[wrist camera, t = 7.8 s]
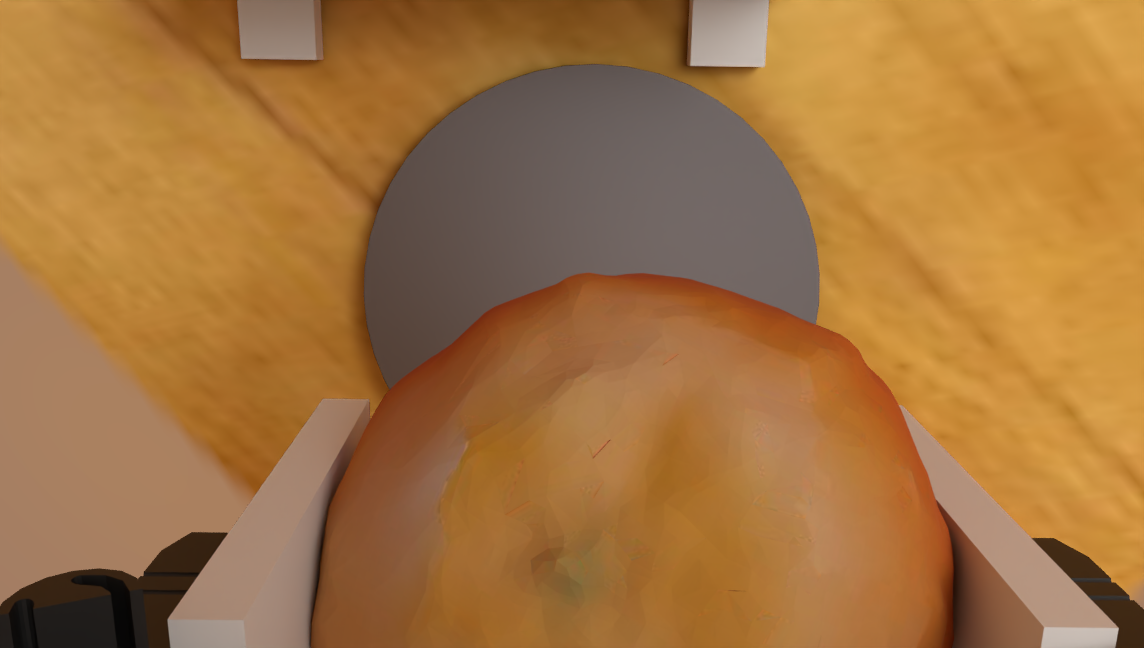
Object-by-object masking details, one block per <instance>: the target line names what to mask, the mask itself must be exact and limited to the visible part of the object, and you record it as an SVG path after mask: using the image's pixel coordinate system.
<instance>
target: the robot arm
mask: <svg viewBox="0 0 1144 648" xmlns="http://www.w3.org/2000/svg"><path fill="white" fill-rule="evenodd" d="M899 407H900V408H901V411H902V413H903V415H904V418H905V421H906V423H907V426H908V428H909V431H910V433H911V436H912V438H913V441H914V443H915V446H916V448H917V451H918V454H919V456H920V458H921V460H922V462H923V465H924V467H925V469H926V471H927V473H928V476H929V479H930V483H931V486H932V490H933V493H934V496H935V499H936V502H937V506H938V508H939V510H940V512H941V514H942V517H943V519H944V521H945V523H946V525H947V527H948V530H949V534H950V539H951V543H952V550H953V565H954V575H953V630H954V641H953V646H952V648H1144V609H1143V608H1142V607H1140V606H1139V605H1138V604H1137V603H1136V602H1135V601H1134V600H1130V599H1129V595H1128V594H1127V593H1126V592H1125V591H1124V590H1123V589H1122V588H1120V587H1119V586H1118V585H1117V584H1116V583H1111V578H1110V577H1109V576H1108V575H1107V574H1106V573H1105V572H1104V571H1103V570H1102V569H1101V568H1099V567H1098V566H1097V565H1096V564H1095V563H1094V562H1093V561H1092V560H1091V559H1090V558H1089V557H1088V556H1086V555H1084V554H1082V553H1080V552H1078V551H1076V550H1075V549H1073V548H1071V547H1069V546H1067V545H1065V544H1064V543H1062V542H1060V541H1058V540H1056V539H1054V538H1031V537H1030V536H1029V535H1028V534H1027V533H1026V532H1025V531H1024V530H1023V529H1022V528H1021V527H1020V526H1019V525H1018V524H1017V523H1016V522H1015V521H1014V520H1013V519H1012V518H1011V517H1010V516H1009V515H1008V514H1007V513H1006V512H1005V511H1004V510H1003V509H1002V508H1001V507H1000V505H999V504H998V503H997V502H996V501H995V500H994V499H993V498H992V497H991V496H990V495H989V494H988V493H987V492H986V491H985V490H984V489H983V488H982V487H981V486H980V485H979V484H978V483H977V482H976V481H975V480H974V479H973V478H972V477H971V476H970V475H969V474H968V473H967V472H966V471H965V470H964V468H963V467H962V466H961V465H960V464H959V463H958V462H957V461H956V460H955V459H954V458H953V457H952V456H951V455H950V454H949V453H948V452H947V451H946V450H945V449H944V448H943V447H942V446H941V445H940V444H939V443H938V442H937V441H936V440H935V439H934V438H933V437H932V436H931V435H930V434H929V433H928V432H927V430H926V429H925V428H924V427H923V426H922V425H921V424H920V423H919V422H918V421H917V420H916V419H915V418H914V417H913V416H912V415H911V414H910V413H909V412H908V411H907V410H906V409H905V408H904V407H903V406H902V405H899ZM369 421H370V407H369V399H322V401H321V402H320V404H319V405H318V406H317V408H316V409H315V411H314V412H313V414H312V415H311V416H310V418H309V419H308V421H307V422H306V423H305V425H304V426H303V428H302V429H301V431H300V432H299V433H298V435H297V436H296V438H295V439H294V441H293V442H292V443H291V445H290V446H289V448H288V449H287V450H286V452H285V453H284V455H283V456H282V458H281V459H280V460H279V462H278V463H277V465H276V466H275V468H274V469H273V470H272V472H271V473H270V475H269V476H268V477H267V479H266V480H265V482H264V483H263V485H262V486H261V487H260V489H259V490H258V492H257V493H256V494H255V496H254V497H253V499H252V500H251V502H250V503H249V504H248V506H247V507H246V509H245V510H244V512H243V513H242V514H241V516H240V517H239V519H238V520H237V521H236V523H235V524H234V526H233V527H232V529H231V530H230V531H229V533H206V532H205V533H202V532H198V533H197V532H192V533H190V534H188V535H187V536H185V537H183V538H181V539H180V540H178V541H177V542H175V543H173V544H172V545H170V546H168V547H167V548H165V549H163V550H162V551H161V552H160V553H159V554H158V555H157V557H156V558H155V559H154V560H153V561H152V563H151V564H150V565H149V566H148V568H147V569H146V570H145V571H144V576H140V577H139V579H137V578H136V577H134V576H131V575H129V574H127V573H125V572H123V571H117V570H108V569H91V570H90V569H89V570H79V571H71V572H67V573H63V574H59V575H55V576H52V577H47V578H45V579H42V580H40V581H38V582H35V583H33V584H31V585H28V586H26V587H24V588H22V589H20V590H19V591H17V592H16V593H15V594H13V595H12V596H11V597H9V598H8V599H7V600H5V601H4V602H3V603H2V604H1V606H0V648H311V621H312V616H313V610H314V605H315V600H316V594H317V588H318V582H319V575H320V561H321V554H322V548H323V541H324V534H325V527H326V521H327V515H328V510H329V506H330V504H331V502H332V499H333V497H334V495H335V493H336V490H337V488H338V486H339V484H340V482H341V480H342V478H343V476H344V474H345V472H346V470H347V468H348V465H349V463H350V461H351V459H352V456H353V454H354V452H355V450H356V447H357V445H358V443H359V441H360V439H361V436H362V434H363V432H364V430H365V428H366V426H367V424H368V423H369Z"/></svg>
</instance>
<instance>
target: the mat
mask: <svg viewBox="0 0 1144 648" xmlns="http://www.w3.org/2000/svg"><path fill="white" fill-rule="evenodd" d="M581 273H595V274H601V275H610V276H617V275H623V274H634V273H647V274H655V275H664V276H672V277H681V278H687V279H692V280H695V281H699V282H702V283H705V284H709V285H712V286H716V287H719V288H722V289H726V290H729V291H732V292H735V293H737V294H740V295H743V296H746V297H749V298H751V299H754V300H757V301H760V302H763V303H766V304H768V305H771V306H774V307H777V308H780V309H782V310H784V311H786V312H788V313H790V314H792V315H794V316H796V317H798V318H800V319H803V320H805V321H808V322H810V323H813V324H815V325H816V319H817V313H818V306H819V275H820V274H819V265H818V257H817V248H816V243H815V239H814V235H813V231H812V227H811V223H810V219H809V216H808V213H807V211H806V209H805V206H804V204H803V201H802V199H801V196H800V194H799V192H798V189H797V187H796V186H795V184H794V182H793V180H792V179H791V177H790V175H789V174H788V172H787V170H786V168H785V167H784V165H783V163H782V162H781V161H780V159H779V158H778V157H777V156H776V154H775V153H774V152H773V150H772V149H771V148H770V147H769V145H768V144H767V143H766V142H765V140H764V139H763V138H762V137H761V136H760V135H759V134H758V133H757V132H756V131H755V130H754V129H753V128H752V127H750V126H749V125H748V124H747V123H746V122H745V121H744V120H743V119H742V118H741V117H740V116H738V115H737V114H736V113H734V112H733V111H731V110H730V109H729V108H727V107H726V106H725V105H723V104H722V103H720V102H719V101H718V100H716V99H714V98H713V97H711V96H709V95H707V94H705V93H703V92H701V91H700V90H698V89H696V88H694V87H692V86H690V85H688V84H685V83H683V82H680V81H677V80H675V79H672V78H669V77H667V76H664V75H661V74H658V73H653V72H649V71H644V70H640V69H635V68H631V67H625V66H613V65H601V64H589V65H569V66H561V67H556V68H551V69H545V70H540V71H535V72H532V73H529V74H526V75H523V76H520V77H517V78H514V79H511V80H508V81H505V82H503V83H501V84H499V85H497V86H495V87H493V88H491V89H489V90H487V91H485V92H483V93H481V94H479V95H477V96H475V97H474V98H472V99H471V100H469V101H468V102H466V103H465V104H463V105H462V106H460V107H459V108H457V109H456V110H454V111H453V112H451V113H450V114H449V115H448V116H447V117H445V118H444V119H443V120H442V121H441V122H440V123H439V124H438V125H437V126H435V127H434V128H433V129H432V130H431V131H430V132H429V133H428V134H427V135H426V136H425V137H424V138H423V139H422V140H421V142H420V143H419V144H418V145H417V146H416V147H415V149H414V150H413V151H412V152H411V153H410V155H409V156H408V157H407V158H406V160H405V161H404V163H403V165H402V166H401V168H400V169H399V171H398V172H397V174H396V175H395V177H394V179H393V180H392V182H391V183H390V186H389V188H388V190H387V192H386V194H385V196H384V199H383V201H382V203H381V205H380V207H379V209H378V212H377V215H376V219H375V222H374V225H373V229H372V232H371V235H370V238H369V244H368V250H367V256H366V263H365V275H364V302H365V311H366V320H367V327H368V331H369V335H370V339H371V343H372V347H373V352H374V355H375V357H376V360H377V362H378V365H379V367H380V370H381V373H382V375H383V378H384V380H385V382H386V384H387V385H388V387H389V389H391V388H392V387H393V386H394V385H395V384H396V383H397V382H398V381H399V380H400V379H402V378H403V377H404V376H406V375H407V374H408V373H410V372H411V371H412V370H414V369H415V368H417V367H418V366H419V365H421V364H422V363H424V362H425V361H427V360H428V359H429V358H431V357H432V356H434V355H436V354H438V353H439V352H440V351H442V350H443V349H445V348H446V347H448V346H449V345H451V344H452V343H453V342H454V341H455V340H456V339H457V338H458V337H459V336H461V335H462V334H463V333H464V332H465V331H466V330H467V329H468V328H469V327H470V326H471V325H472V324H473V323H474V322H475V321H476V320H478V319H479V318H480V317H481V316H482V315H483V314H484V313H485V312H487V311H488V310H490V309H492V308H493V307H495V306H497V305H500V304H502V303H505V302H507V301H510V300H513V299H516V298H518V297H521V296H524V295H527V294H529V293H532V292H535V291H538V290H541V289H543V288H546V287H549V286H552V285H555V284H557V283H559V282H561V281H562V280H564V279H565V278H567V277H570V276H573V275H576V274H581Z"/></svg>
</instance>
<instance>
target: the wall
mask: <svg viewBox="0 0 1144 648" xmlns="http://www.w3.org/2000/svg"><path fill="white" fill-rule="evenodd" d="M237 5H238V19H239V33H240V47H241V59H292V60H324V58H323V38H322V18H321V0H237ZM768 9H769V0H690V4H689V26H688V48H687V66H729V67H765V55H766V39H767V24H768Z"/></svg>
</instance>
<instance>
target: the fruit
mask: <svg viewBox="0 0 1144 648" xmlns="http://www.w3.org/2000/svg"><path fill="white" fill-rule="evenodd" d="M953 575H954V565H953V550H952V543H951V539H950V534H949V530H948V527H947V525H946V523H945V521H944V519H943V517H942V514H941V512H940V510H939V508H938V506H937V502H936V499H935V496H934V493H933V490H932V486H931V483H930V479H929V476H928V473H927V471H926V469H925V467H924V465H923V462H922V460H921V458H920V456H919V454H918V451H917V448H916V446H915V443H914V441H913V438H912V436H911V433H910V431H909V428H908V426H907V423H906V421H905V418H904V415H903V413H902V411H901V408H900V407H899V405H898V403H897V401H896V399H895V398H894V396H893V394H892V392H891V390H890V389H889V388H888V386H887V385H886V384H885V383H884V381H883V380H882V379H881V378H880V377H879V376H877V375H876V374H875V373H874V372H873V371H872V370H871V369H870V368H869V367H868V366H867V365H866V363H865V362H864V360H863V358H862V356H861V354H860V352H859V350H858V349H857V348H856V347H855V346H854V345H853V344H852V343H851V342H850V341H849V340H847V339H846V338H845V337H843V336H842V335H840V334H838V333H835V332H833V331H830V330H828V329H825V328H823V327H820V326H818V325H815V324H813V323H810V322H808V321H805V320H803V319H800V318H798V317H796V316H794V315H792V314H790V313H788V312H786V311H784V310H782V309H780V308H777V307H774V306H771V305H768V304H766V303H763V302H760V301H757V300H754V299H751V298H749V297H746V296H743V295H740V294H737V293H735V292H732V291H729V290H726V289H722V288H719V287H716V286H712V285H709V284H705V283H702V282H699V281H695V280H692V279H687V278H681V277H672V276H664V275H655V274H647V273H634V274H623V275H617V276H610V275H601V274H595V273H581V274H576V275H573V276H570V277H567V278H565V279H564V280H562V281H561V282H559V283H557V284H555V285H552V286H549V287H546V288H543V289H541V290H538V291H535V292H532V293H529V294H527V295H524V296H521V297H518V298H516V299H513V300H510V301H507V302H505V303H502V304H500V305H497V306H495V307H493V308H492V309H490V310H488V311H487V312H485V313H484V314H483V315H482V316H481V317H480V318H479V319H478V320H476V321H475V322H474V323H473V324H472V325H471V326H470V327H469V328H468V329H467V330H466V331H465V332H464V333H463V334H462V335H461V336H459V337H458V338H457V339H456V340H455V341H454V342H453V343H452V344H451V345H449V346H448V347H446V348H445V349H443V350H442V351H440V352H439V353H438V354H436V355H434V356H432V357H431V358H429V359H428V360H427V361H425V362H424V363H422V364H421V365H419V366H418V367H417V368H415V369H414V370H412V371H411V372H410V373H408V374H407V375H406V376H404V377H403V378H402V379H400V380H399V381H398V382H397V383H396V384H395V385H394V386H393V387H392V388H391V389H390V390H389V391H388V393H387V394H386V395H385V396H384V398H383V400H382V401H381V403H380V404H379V406H378V408H377V409H376V411H375V413H374V414H373V416H372V418H371V419H370V421H369V423H368V424H367V426H366V428H365V430H364V432H363V434H362V436H361V439H360V441H359V443H358V445H357V447H356V450H355V452H354V454H353V456H352V459H351V461H350V463H349V465H348V468H347V470H346V472H345V474H344V476H343V478H342V480H341V482H340V484H339V486H338V488H337V490H336V493H335V495H334V497H333V499H332V502H331V504H330V506H329V510H328V515H327V521H326V527H325V534H324V541H323V548H322V554H321V561H320V575H319V582H318V588H317V594H316V600H315V605H314V610H313V616H312V621H311V648H952V646H953V641H954V630H953Z"/></svg>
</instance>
